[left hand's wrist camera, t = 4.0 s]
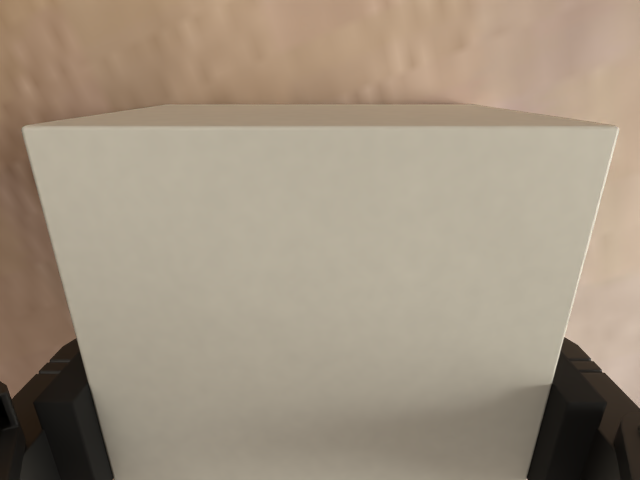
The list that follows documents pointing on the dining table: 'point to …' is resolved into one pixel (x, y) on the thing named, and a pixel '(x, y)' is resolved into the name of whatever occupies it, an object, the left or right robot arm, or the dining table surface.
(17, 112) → the dining table surface
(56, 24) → the dining table surface
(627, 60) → the dining table surface
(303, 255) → the beam
